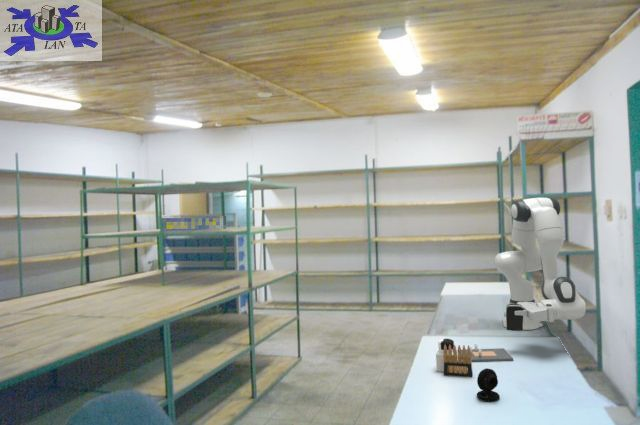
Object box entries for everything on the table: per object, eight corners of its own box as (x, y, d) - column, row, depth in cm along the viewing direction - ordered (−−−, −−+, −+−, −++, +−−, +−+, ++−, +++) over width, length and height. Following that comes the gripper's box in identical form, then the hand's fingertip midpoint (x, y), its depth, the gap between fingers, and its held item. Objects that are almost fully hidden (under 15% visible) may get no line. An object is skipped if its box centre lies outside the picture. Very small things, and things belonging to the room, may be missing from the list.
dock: (457, 351, 223) (457, 342, 223) (503, 350, 221) (503, 341, 221) (463, 362, 209) (463, 352, 209) (513, 360, 207) (512, 351, 207)
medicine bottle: (457, 367, 204) (456, 337, 203) (454, 373, 197) (453, 342, 197) (440, 365, 207) (438, 336, 206) (436, 371, 200) (435, 341, 200)
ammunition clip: (472, 375, 194) (471, 344, 193) (472, 377, 192) (471, 346, 192) (444, 373, 197) (442, 343, 197) (443, 375, 196) (442, 344, 195)
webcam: (486, 404, 167) (485, 374, 167) (471, 396, 174) (470, 367, 174) (504, 399, 170) (503, 369, 170) (489, 391, 177) (487, 363, 177)
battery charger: (522, 327, 220) (522, 303, 218) (523, 331, 217) (523, 306, 214) (505, 327, 222) (505, 302, 220) (506, 330, 219) (506, 305, 217)
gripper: (536, 297, 227) (505, 299, 228) (553, 307, 206) (519, 309, 208) (537, 311, 227) (505, 313, 228) (554, 323, 207) (520, 324, 208)
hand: (512, 311), depth 218 cm, fingers closed on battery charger, 4 cm apart
